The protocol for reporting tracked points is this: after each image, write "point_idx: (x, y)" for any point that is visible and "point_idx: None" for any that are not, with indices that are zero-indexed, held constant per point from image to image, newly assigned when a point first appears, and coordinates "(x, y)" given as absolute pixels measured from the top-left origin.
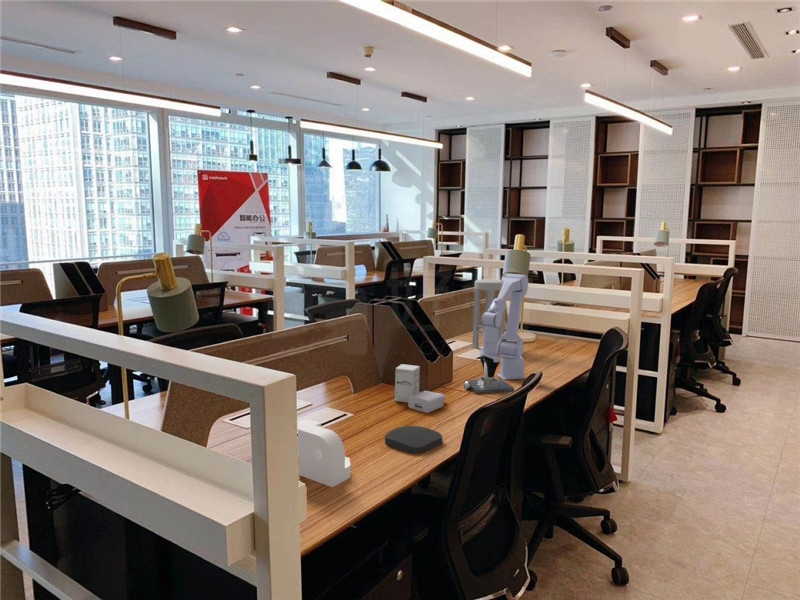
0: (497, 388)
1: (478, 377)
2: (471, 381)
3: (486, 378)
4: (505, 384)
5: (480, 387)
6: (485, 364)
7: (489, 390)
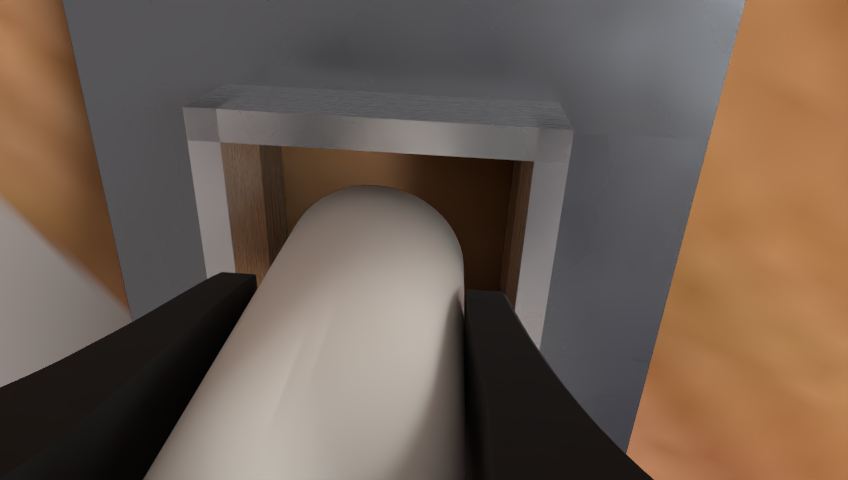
0: (135, 266)
1: (568, 151)
2: (661, 4)
3: (299, 231)
4: None
5: (208, 3)
6: (205, 468)
7: (101, 117)
